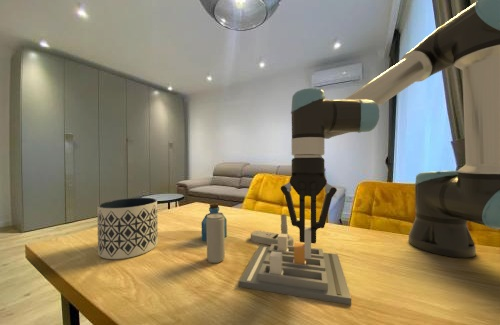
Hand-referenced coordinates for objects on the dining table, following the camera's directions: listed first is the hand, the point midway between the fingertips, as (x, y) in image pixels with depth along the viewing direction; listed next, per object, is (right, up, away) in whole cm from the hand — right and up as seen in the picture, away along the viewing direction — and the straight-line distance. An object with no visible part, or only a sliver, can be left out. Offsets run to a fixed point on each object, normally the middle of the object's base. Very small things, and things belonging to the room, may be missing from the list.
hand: (307, 255), depth 50 cm
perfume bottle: (-26, -4, +22) cm, 35 cm away
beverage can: (-23, -4, +7) cm, 25 cm away
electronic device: (-7, -4, +19) cm, 21 cm away
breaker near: (-8, -3, -4) cm, 9 cm away
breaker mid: (-2, -3, +1) cm, 3 cm away
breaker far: (-5, -3, +8) cm, 9 cm away
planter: (-51, -5, +15) cm, 53 cm away
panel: (-3, -4, +1) cm, 5 cm away
